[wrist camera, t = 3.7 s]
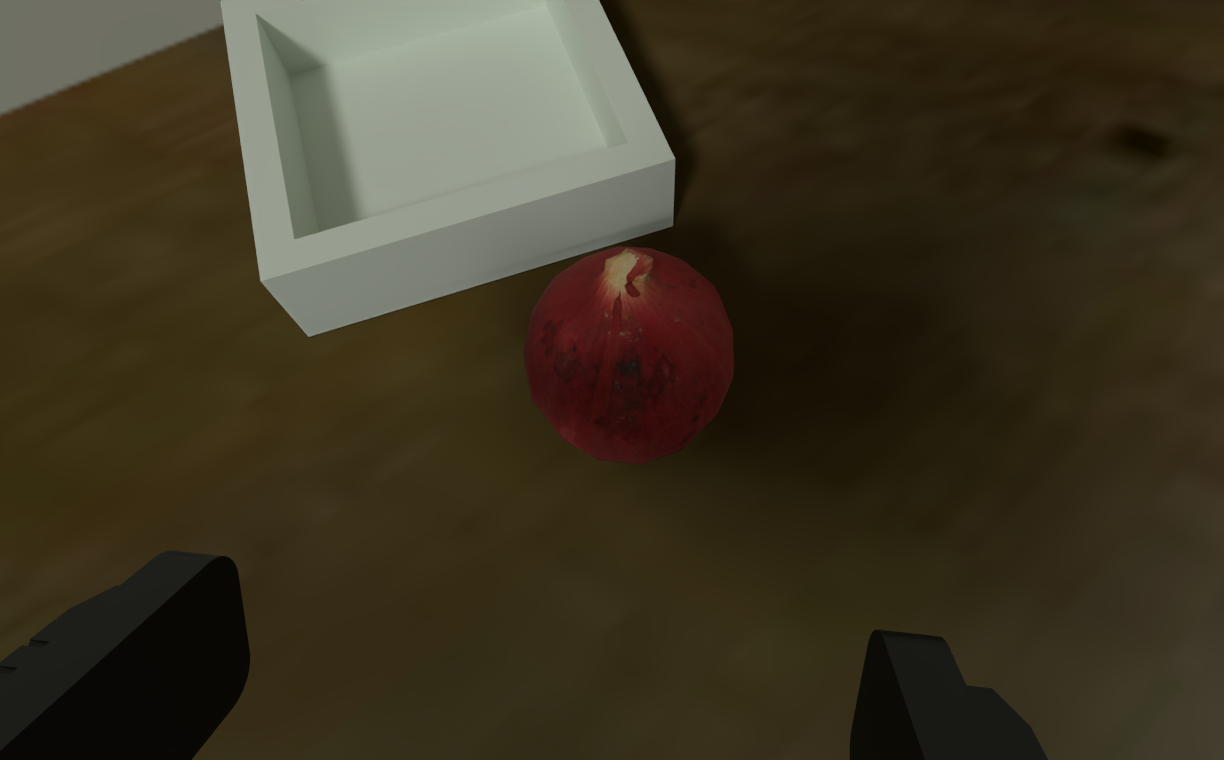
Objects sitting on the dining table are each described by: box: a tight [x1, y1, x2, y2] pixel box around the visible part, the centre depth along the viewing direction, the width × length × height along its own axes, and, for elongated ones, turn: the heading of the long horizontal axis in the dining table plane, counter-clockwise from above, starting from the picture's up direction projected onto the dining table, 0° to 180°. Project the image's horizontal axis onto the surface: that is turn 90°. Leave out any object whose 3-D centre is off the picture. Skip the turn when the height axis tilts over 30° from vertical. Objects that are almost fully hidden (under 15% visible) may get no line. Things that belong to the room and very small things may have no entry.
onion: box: [524, 246, 734, 464], centre depth 21 cm, size 6×6×8 cm
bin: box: [221, 0, 675, 337], centre depth 28 cm, size 13×13×4 cm
